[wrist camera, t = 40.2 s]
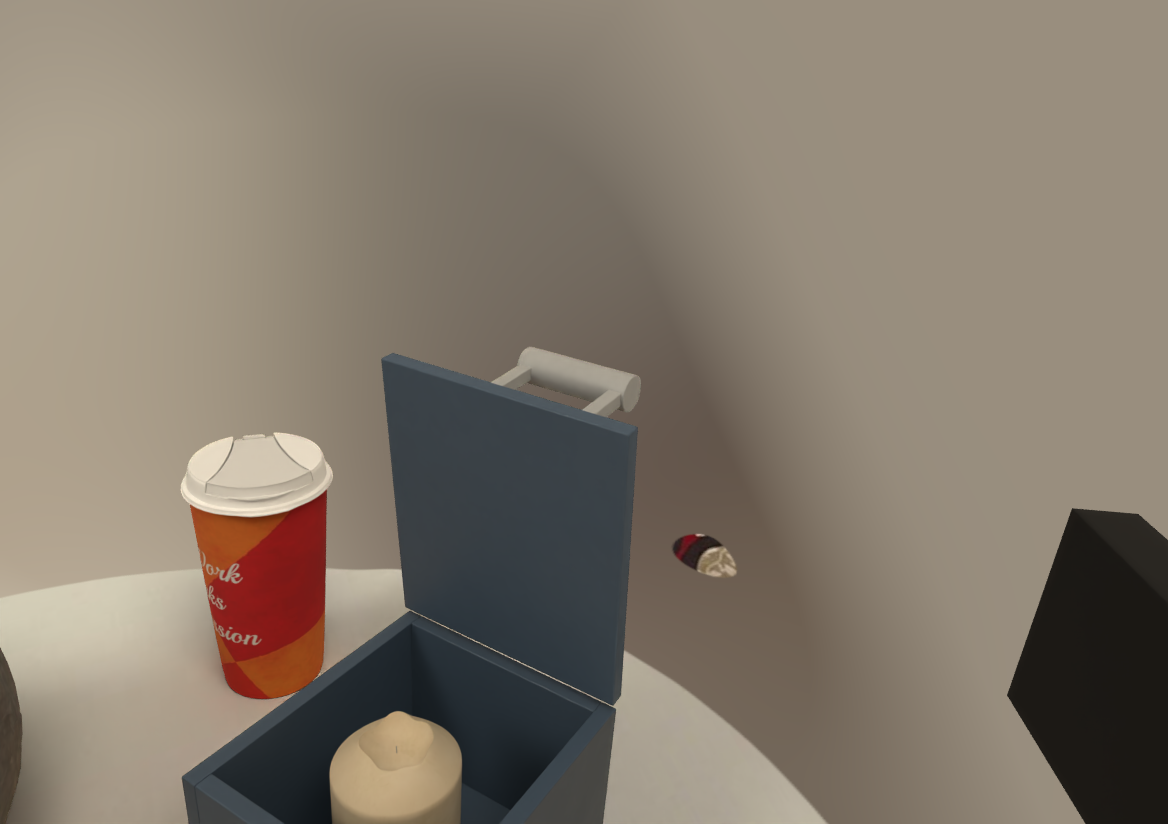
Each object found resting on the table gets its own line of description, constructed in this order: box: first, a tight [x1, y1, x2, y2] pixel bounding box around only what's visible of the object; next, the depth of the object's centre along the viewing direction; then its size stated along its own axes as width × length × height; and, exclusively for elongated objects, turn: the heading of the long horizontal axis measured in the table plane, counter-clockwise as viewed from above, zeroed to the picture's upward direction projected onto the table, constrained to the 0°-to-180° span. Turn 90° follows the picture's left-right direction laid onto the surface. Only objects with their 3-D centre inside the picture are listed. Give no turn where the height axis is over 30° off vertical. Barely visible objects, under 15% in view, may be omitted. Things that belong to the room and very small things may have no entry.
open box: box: [182, 611, 616, 824], centre depth 38 cm, size 14×13×10 cm
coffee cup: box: [180, 433, 333, 699], centre depth 51 cm, size 8×8×15 cm
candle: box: [330, 711, 462, 824], centre depth 37 cm, size 6×6×10 cm
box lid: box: [382, 347, 641, 705], centre depth 41 cm, size 14×13×8 cm
